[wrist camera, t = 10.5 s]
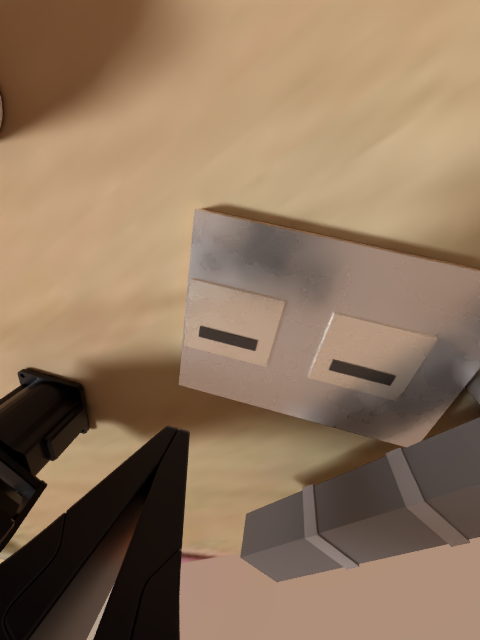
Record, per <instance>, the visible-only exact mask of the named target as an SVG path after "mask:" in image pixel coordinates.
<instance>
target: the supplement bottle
mask: <svg viewBox="0 0 480 640" xmlns="http://www.w3.org/2000/svg"><path fill="white" fill-rule="evenodd" d="M2 115H3V108H2V100H1V95H0V127H1V122H2Z"/></svg>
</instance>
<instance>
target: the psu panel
mask: <svg viewBox="0 0 480 640" xmlns="http://www.w3.org/2000/svg"><path fill="white" fill-rule="evenodd" d="M479 368H480V269H478V268H473V267H468V266H464V265H459V264H455V263H450V262H445V261H441V260H436V259H431V258H427V257H422V256H418V255H413V254H408V253H404V252H399V251H395V250H390V249H385V248H381V247H376V246H371V245H367V244H362V243H358V242H353V241H348V240H344V239H339V238H335V237H330V236H325V235H321V234H316V233H311V232H307V231H302V230H298V229H293V228H288V227H284V226H279V225H275V224H270V223H265V222H261V221H256V220H251V219H247V218H242V217H238V216H233V215H228V214H224V213H219V212H215V211H210V210H205V209H195V210H194V221H193V232H192V243H191V254H190V265H189V276H188V287H187V298H186V309H185V320H184V331H183V342H182V353H181V364H180V375H179V385H180V386H184V387H188V388H191V389H195V390H199V391H202V392H206V393H210V394H213V395H217V396H221V397H224V398H228V399H232V400H235V401H239V402H243V403H246V404H250V405H253V406H257V407H261V408H264V409H268V410H272V411H275V412H279V413H283V414H286V415H290V416H294V417H297V418H301V419H305V420H308V421H312V422H316V423H319V424H323V425H327V426H330V427H334V428H338V429H341V430H345V431H348V432H352V433H356V434H359V435H363V436H367V437H370V438H374V439H378V440H381V441H385V442H389V443H392V444H396V445H400V446H403V447H409V446H411V445H414V444H416V443H418V442H421V441H422V440H423V438H424V437H425V436H426V435H427V433H428V432H429V431H430V430H431V428H432V427H433V426H434V425H435V423H436V422H437V421H438V420H439V418H440V417H441V416H442V415H443V413H444V412H445V411H446V410H447V408H448V407H449V406H450V405H451V403H452V402H453V401H454V400H455V398H456V397H457V396H458V395H459V393H460V392H461V391H462V390H463V388H464V387H465V386H466V385H467V383H468V382H469V381H470V380H471V378H472V377H473V376H474V375H475V373H476V372H477V371H478V370H479Z"/></svg>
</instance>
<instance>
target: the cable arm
mask: <svg viewBox="0 0 480 640" xmlns="http://www.w3.org/2000/svg"><path fill="white" fill-rule="evenodd" d="M467 390H468V392H469V393H470V395H471V396H472V397H473V398H474V399H475V400H476V401H477V402H478V403H479V404H480V369H479V370H478V371H477V372H476V373H475V375H474V376H473V377H472V378H471V380H470V381H469V382H468V383H467ZM302 490H303V491H300V492H298V493H295V494H293V495H291V496H288V497H286V498H283V499H281V500H279V501H276V502H274V503H271V504H269V505H267V506H264V507H262V508H259V509H257V510H254V511H252V512H250V513H247V514H246V520H245V527H244V535H243V542H242V550H241V558H242V559H243V560H245V561H246V562H248V563H249V564H251V565H253V566H254V567H255V568H257V569H258V570H260V571H261V572H263V573H264V574H266V575H267V576H269V577H270V578H272V579H273V580H274V581H276V582H279V581H283V580H288V579H292V578H297V577H301V576H306V575H311V574H315V573H319V572H324V571H328V570H333V569H337V568H341V567H344V568H345V569H351V568H355V567H359V564H360V563H365V562H369V561H373V560H378V559H383V558H387V557H391V556H396V555H401V554H405V553H409V552H414V551H419V550H423V549H428V548H432V547H436V546H441V545H445V544H449V545H451V547H452V546H456V545H462V544H466V543H470V542H469V539H472V538H477V537H480V417H479V418H476V419H474V420H471V421H469V422H467V423H464V424H462V425H459V426H457V427H455V428H452V429H450V430H447V431H445V432H443V433H440V434H438V435H435V436H433V437H430V438H428V439H426V440H423V441H421V442H418V443H416V444H414V445H411V446H409V447H406V448H404V449H401V448H400V447H399V448H397V449H394V450H392V451H390V452H387V453H386V456H385V457H382V458H380V459H377V460H375V461H373V462H370V463H368V464H365V465H363V466H361V467H358V468H356V469H353V470H351V471H348V472H346V473H344V474H341V475H339V476H336V477H334V478H332V479H329V480H327V481H324V482H322V483H320V484H317V485H313V484H311V485H309V486H306V487H304V488H302Z"/></svg>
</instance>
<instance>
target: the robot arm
mask: <svg viewBox="0 0 480 640" xmlns="http://www.w3.org/2000/svg"><path fill="white" fill-rule="evenodd" d="M18 377H19V380H20V384H21V385H20V386H19V387H18V388H16V389H15V390H13V391H12V392H10V393H9V394H7V395H6V396H5V397H3V398H2V399H0V552H1V551H2V550H3V549H4V547H5V546H6V545H7V543H8V542H9V541H10V539H11V538H12V537H13V535H14V534H15V532H16V531H17V529H18V528H19V526H20V525H21V523H22V522H23V520H24V519H25V517H26V516H27V514H28V513H29V511H30V510H31V508H32V507H33V506H34V504H35V503H36V501H37V500H38V498H39V497H40V495H41V494H42V492H43V491H44V489H45V488H46V486H47V484H46V483H45V482H44V481H43V480H42V481H41V480H39V479H38V478H37V477H36V475H37V474H38V473H39V471H40V470H41V469H42V468H43V467H44V466H45V465H46V464H47V463H48V462H49V461H54V460H56V459H57V458H58V457H59V456H60V455H61V454H62V452H63V451H64V450H65V449H66V448H67V447H68V446H69V445H70V444H71V442H72V441H73V440H74V439H75V438H76V437H77V436H78V435H79V433H83V434H85V433H87V431H88V430H89V423H88V416H87V409H86V402H85V395H84V389H83V387H82V386H81V385H79V384H76V383H72V382H69V381H65V380H62V379H58V378H55V377H51V376H48V375H44V374H41V373H37V372H34V371H30V370H26V369H22V370H21V371H19V372H18ZM189 437H190V432H189V431H186V430H183V429H179V430H178V428H176V427H172V426H166V427H165V428H163V429H162V430H161V431H160V432H159V433H158V434H156V435H155V436H154V437H153V438H152V439H150V440H149V441H148V442H147V443H146V444H145V445H143V446H142V447H141V448H140V449H139V450H138V451H136V452H135V453H134V454H133V455H132V456H130V457H129V458H128V459H127V460H126V461H125V462H123V463H122V464H121V465H120V466H119V467H118V468H116V469H115V470H114V471H113V472H112V473H110V474H109V475H108V476H107V477H106V478H105V479H103V480H102V481H101V482H100V483H99V484H98V485H96V486H95V487H94V488H93V489H92V490H90V491H89V492H88V493H87V494H86V495H85V496H83V497H82V498H81V499H80V500H79V501H77V502H76V503H75V504H74V505H73V506H72V507H70V508H69V509H68V510H67V512H66V513H63V514H62V515H61V516H60V517H58V518H57V519H56V520H55V521H54V522H53V523H51V524H50V525H49V526H48V527H47V528H45V529H44V530H43V531H42V532H41V533H39V534H38V535H37V536H36V537H34V538H33V539H32V540H31V541H29V542H28V543H27V544H26V545H24V546H23V547H22V548H20V549H19V550H18V551H17V552H15V553H14V554H13V555H11V556H10V557H9V558H7V559H6V560H5V561H3V562H2V563H1V564H0V640H86V639H87V637H88V635H89V633H90V631H91V629H92V627H93V625H94V623H95V621H96V619H97V617H98V615H99V613H100V611H101V609H102V607H103V605H104V603H105V601H106V599H107V597H108V595H109V593H110V591H111V589H112V587H113V589H112V592H111V594H110V597H109V600H108V602H107V605H106V607H105V611H104V613H103V616H102V618H101V621H100V624H99V626H98V629H97V631H96V634H95V637H94V639H93V640H180V631H179V591H180V589H179V588H180V568H181V554H182V552H181V549H182V537H183V523H184V509H185V494H186V480H187V465H188V451H189ZM114 583H115V584H114ZM113 585H114V586H113Z"/></svg>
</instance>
